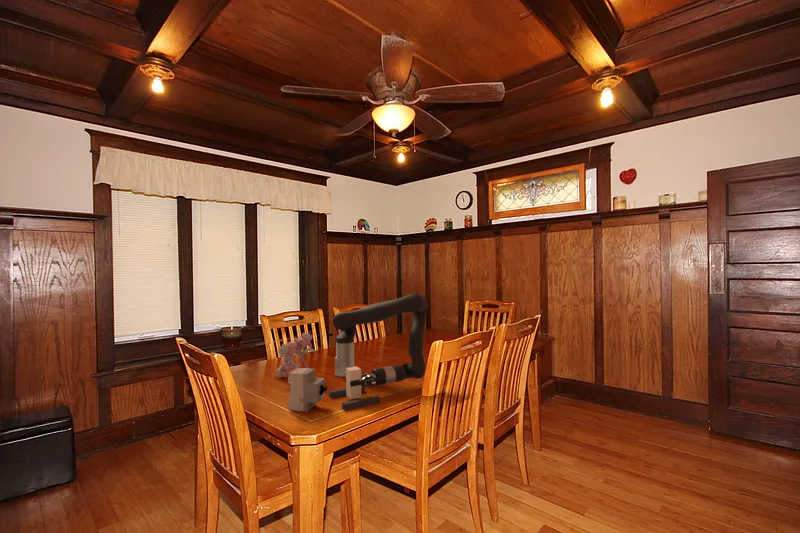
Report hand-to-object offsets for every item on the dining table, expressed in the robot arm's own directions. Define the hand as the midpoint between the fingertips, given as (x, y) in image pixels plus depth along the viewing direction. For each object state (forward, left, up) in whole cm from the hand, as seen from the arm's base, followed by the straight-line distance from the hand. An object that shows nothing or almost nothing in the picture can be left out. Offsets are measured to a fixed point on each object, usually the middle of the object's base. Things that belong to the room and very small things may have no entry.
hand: (348, 382), depth 165 cm
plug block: (+2, +2, -6) cm, 7 cm away
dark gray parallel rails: (+2, +2, -8) cm, 8 cm away
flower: (-42, +24, -8) cm, 49 cm away
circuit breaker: (-12, -11, -8) cm, 19 cm away
